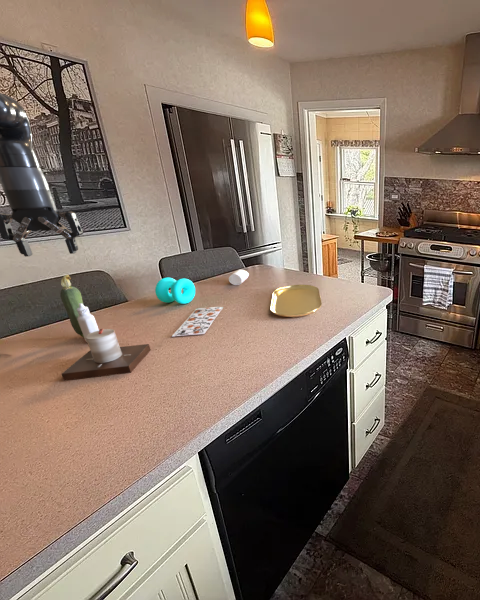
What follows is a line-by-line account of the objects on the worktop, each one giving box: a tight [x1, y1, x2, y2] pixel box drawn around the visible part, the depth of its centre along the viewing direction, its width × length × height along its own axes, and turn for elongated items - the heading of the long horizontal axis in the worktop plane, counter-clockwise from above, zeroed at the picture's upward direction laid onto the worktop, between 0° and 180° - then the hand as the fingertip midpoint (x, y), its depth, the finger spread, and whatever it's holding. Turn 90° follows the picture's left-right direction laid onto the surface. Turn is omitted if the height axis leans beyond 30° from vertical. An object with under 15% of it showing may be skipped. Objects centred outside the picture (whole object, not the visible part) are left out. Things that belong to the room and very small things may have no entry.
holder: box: [61, 343, 151, 381], centre depth 86 cm, size 14×12×2 cm
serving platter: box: [269, 284, 323, 318], centre depth 131 cm, size 19×35×2 cm, turn 17°
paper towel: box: [171, 306, 224, 337], centre depth 113 cm, size 24×1×9 cm
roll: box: [228, 269, 250, 286], centre depth 154 cm, size 6×12×6 cm, turn 3°
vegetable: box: [59, 274, 84, 338], centre depth 98 cm, size 4×4×20 cm
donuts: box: [154, 276, 196, 305], centre depth 127 cm, size 10×10×10 cm
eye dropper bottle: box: [77, 303, 100, 343], centre depth 97 cm, size 4×6×12 cm
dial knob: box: [86, 328, 122, 363], centre depth 85 cm, size 6×6×7 cm
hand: (51, 254), depth 83 cm, fingers open, 8 cm apart
